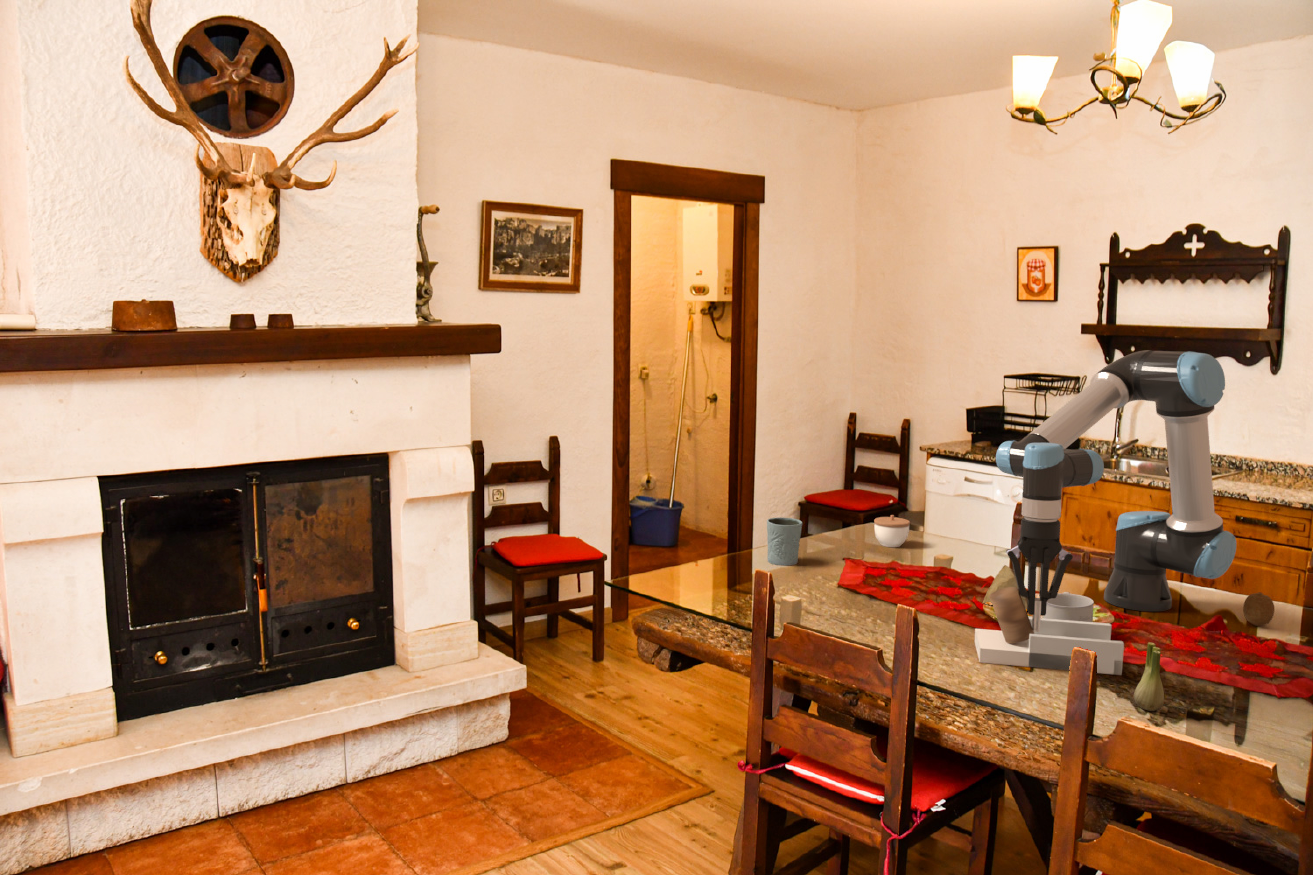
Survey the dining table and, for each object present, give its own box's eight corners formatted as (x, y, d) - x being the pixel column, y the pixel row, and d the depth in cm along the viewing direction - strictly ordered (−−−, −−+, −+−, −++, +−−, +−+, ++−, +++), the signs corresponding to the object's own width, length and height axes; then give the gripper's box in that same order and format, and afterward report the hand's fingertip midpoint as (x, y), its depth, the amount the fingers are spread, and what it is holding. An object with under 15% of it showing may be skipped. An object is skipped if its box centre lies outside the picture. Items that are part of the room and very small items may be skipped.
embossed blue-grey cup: (776, 555, 286) (777, 515, 284) (807, 561, 280) (808, 520, 279) (759, 562, 278) (760, 521, 276) (790, 568, 272) (791, 526, 270)
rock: (1045, 603, 234) (1021, 586, 243) (1030, 578, 231) (1006, 562, 240) (1010, 630, 233) (987, 612, 243) (994, 605, 230) (972, 588, 240)
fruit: (1235, 623, 227) (1238, 590, 226) (1253, 620, 230) (1256, 587, 229) (1260, 631, 222) (1264, 597, 221) (1279, 628, 224) (1282, 594, 223)
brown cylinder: (1033, 628, 205) (1017, 584, 205) (1035, 638, 199) (1018, 592, 199) (1004, 635, 207) (988, 592, 207) (1005, 645, 201) (989, 600, 201)
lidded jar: (874, 548, 296) (875, 517, 295) (872, 540, 307) (873, 511, 306) (910, 550, 295) (911, 519, 294) (907, 541, 305) (908, 512, 304)
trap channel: (1107, 653, 206) (1109, 623, 205) (1121, 675, 194) (1124, 643, 193) (974, 641, 212) (976, 612, 211) (979, 662, 200) (981, 631, 199)
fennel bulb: (1158, 716, 174) (1163, 652, 172) (1128, 709, 177) (1133, 645, 175) (1167, 707, 178) (1172, 644, 176) (1138, 699, 181) (1143, 637, 180)
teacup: (1087, 644, 212) (1090, 608, 211) (1035, 634, 217) (1037, 600, 216) (1097, 627, 223) (1099, 593, 222) (1047, 618, 229) (1049, 585, 228)
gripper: (1070, 516, 202) (1065, 626, 204) (1005, 513, 204) (1001, 622, 207) (1077, 523, 194) (1072, 637, 197) (1010, 520, 197) (1005, 633, 200)
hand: (1035, 629), depth 202 cm, fingers closed
